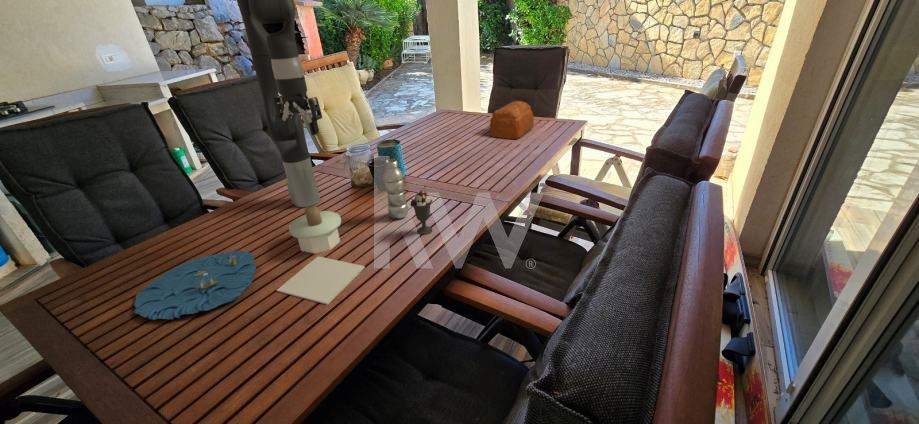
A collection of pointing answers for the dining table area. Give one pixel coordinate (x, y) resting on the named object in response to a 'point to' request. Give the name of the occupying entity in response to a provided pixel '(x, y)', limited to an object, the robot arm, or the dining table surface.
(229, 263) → the decorative plate
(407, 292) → the dining table surface
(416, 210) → the sundae
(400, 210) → the plastic bottle
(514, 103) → the bread
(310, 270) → the mat
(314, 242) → the bowl
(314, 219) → the lid
